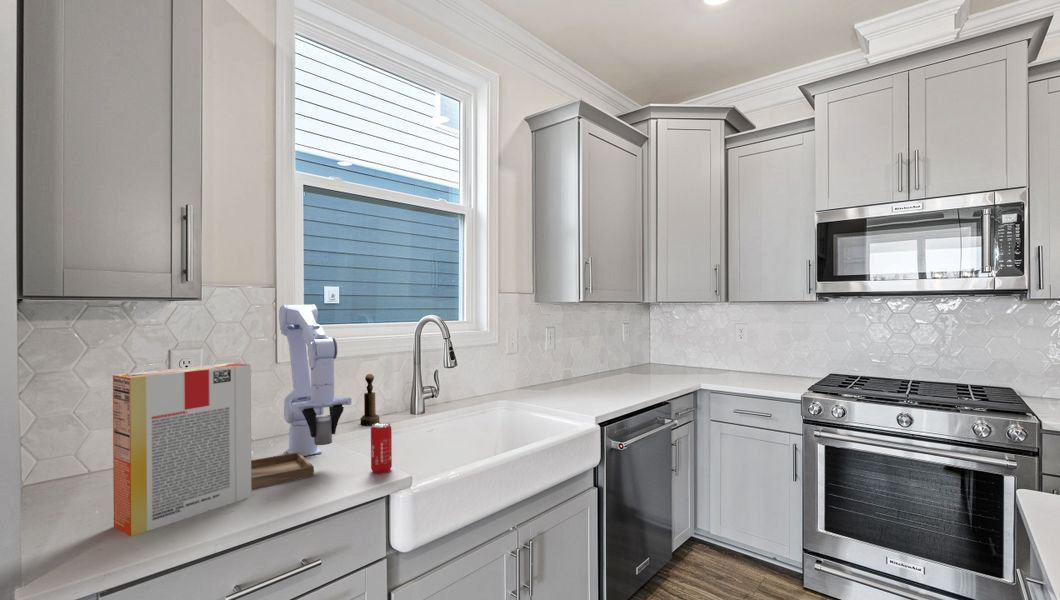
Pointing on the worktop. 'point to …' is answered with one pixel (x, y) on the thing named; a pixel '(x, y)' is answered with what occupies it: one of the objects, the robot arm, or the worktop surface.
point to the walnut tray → (279, 469)
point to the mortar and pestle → (369, 404)
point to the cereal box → (180, 443)
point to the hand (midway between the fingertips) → (323, 435)
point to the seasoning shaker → (323, 430)
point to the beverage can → (381, 448)
